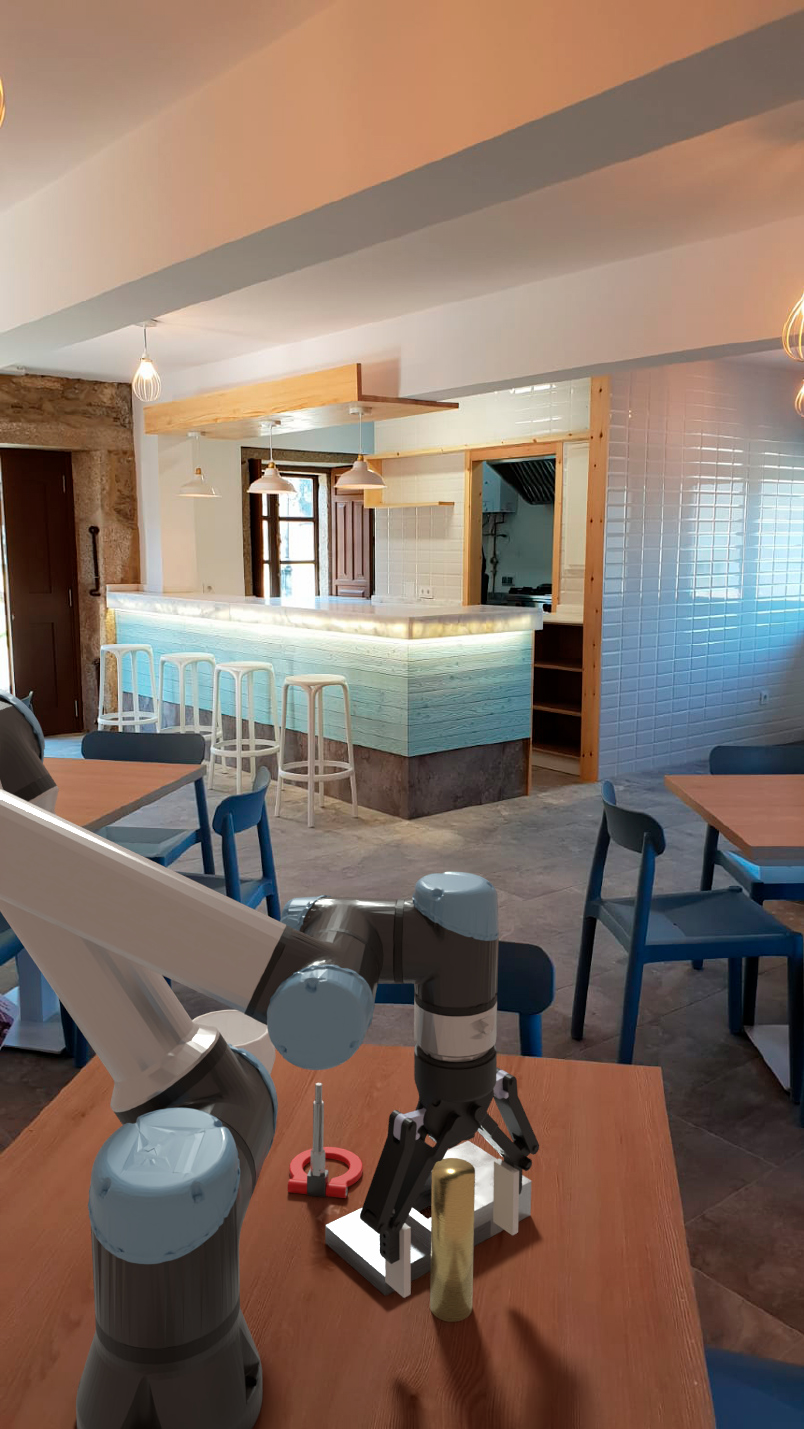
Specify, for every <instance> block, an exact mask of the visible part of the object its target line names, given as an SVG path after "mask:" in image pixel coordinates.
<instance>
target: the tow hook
mask: <svg viewBox="0 0 804 1429" xmlns="http://www.w3.org/2000/svg"><path fill="white" fill-rule="evenodd" d="M314 1084H315V1085H314V1101H313V1102H312V1148H309V1149H306V1150H304V1151H302V1152H300V1153H298V1154H297V1155H295V1156H294V1158H292V1159H291V1161H290V1164H289V1169H288V1170H289V1177H290V1178H289V1179H288V1182H287V1192H288V1193H291V1194H292V1193H293V1194H301V1195H302V1194H303V1195H307V1196H310V1197H320V1198H321V1197H322V1198H326V1197H329V1198H330V1197H331V1198H340V1199H346V1198H347V1196H348V1191H349V1189H348V1188H349V1187H350V1186H352V1185H354V1184H356V1182H358V1181H359V1179H360V1178H361V1177H362V1175H363V1172H364V1169H363V1167H364V1166H363V1161H362V1159H361V1158H360V1156H358V1155H357V1154H355V1153H354V1152H353V1151H350V1150H348V1149H346V1148H340V1147H335V1146H324V1138H325V1137H324V1129H325V1128H324V1126H325V1121H324V1119H325V1118H324V1117H325V1116H324V1115H325V1110H324V1109H325V1108H324V1107H325V1102H324V1101H323V1083H321V1082H317V1083H316V1082H315V1083H314ZM326 1159H328V1160H329V1159H331V1160H337V1161H340V1162H342V1163H344V1164H346V1165H347V1167H348V1170H347V1171H346V1172H345V1173H343V1174H341V1175H339V1176H334V1177H332V1178H330V1181H329V1170H328V1169H326ZM309 1163H310V1169H309V1170H308V1172H305V1170H304V1168H305V1166H306V1165H308V1164H309Z"/></svg>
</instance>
